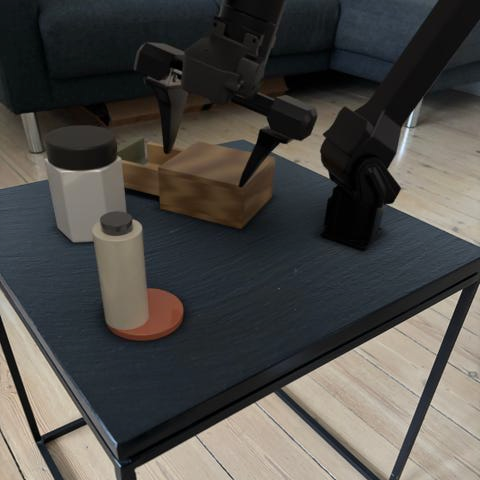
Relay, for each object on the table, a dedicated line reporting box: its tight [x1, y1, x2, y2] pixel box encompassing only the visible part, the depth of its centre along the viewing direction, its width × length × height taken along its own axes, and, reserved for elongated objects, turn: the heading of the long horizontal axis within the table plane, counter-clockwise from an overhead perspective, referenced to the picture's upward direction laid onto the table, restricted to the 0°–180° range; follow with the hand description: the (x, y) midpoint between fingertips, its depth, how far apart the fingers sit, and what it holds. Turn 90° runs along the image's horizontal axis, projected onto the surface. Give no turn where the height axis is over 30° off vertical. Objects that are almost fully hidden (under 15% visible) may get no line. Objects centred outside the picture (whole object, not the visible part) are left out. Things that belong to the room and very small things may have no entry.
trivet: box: [105, 287, 185, 342], centre depth 53 cm, size 8×8×1 cm
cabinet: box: [158, 141, 276, 230], centre depth 73 cm, size 13×12×6 cm
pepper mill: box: [92, 211, 149, 330], centre depth 49 cm, size 4×4×11 cm
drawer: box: [117, 136, 186, 197], centre depth 77 cm, size 13×10×4 cm
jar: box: [43, 125, 128, 244], centre depth 64 cm, size 9×8×12 cm
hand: (203, 169), depth 57 cm, fingers open, 9 cm apart
